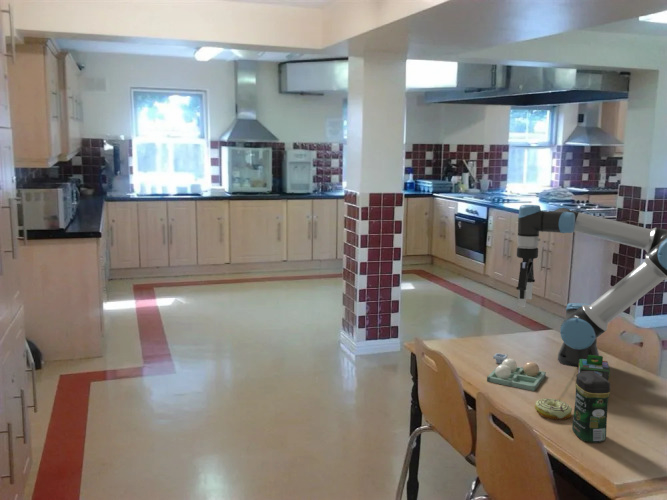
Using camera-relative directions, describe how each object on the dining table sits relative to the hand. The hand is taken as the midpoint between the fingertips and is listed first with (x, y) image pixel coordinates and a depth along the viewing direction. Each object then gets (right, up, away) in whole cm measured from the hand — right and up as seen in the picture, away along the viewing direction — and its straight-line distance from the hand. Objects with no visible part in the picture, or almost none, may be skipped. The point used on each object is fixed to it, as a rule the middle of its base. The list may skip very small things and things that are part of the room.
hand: (525, 303), depth 231 cm
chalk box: (+14, -29, -25) cm, 41 cm away
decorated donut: (-3, -32, -39) cm, 50 cm away
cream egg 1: (-8, -25, -8) cm, 27 cm away
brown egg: (-2, -25, -12) cm, 28 cm away
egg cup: (-8, -24, +4) cm, 25 cm away
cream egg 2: (-12, -26, -14) cm, 32 cm away
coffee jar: (+2, -34, -54) cm, 63 cm away
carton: (-7, -27, -13) cm, 30 cm away
